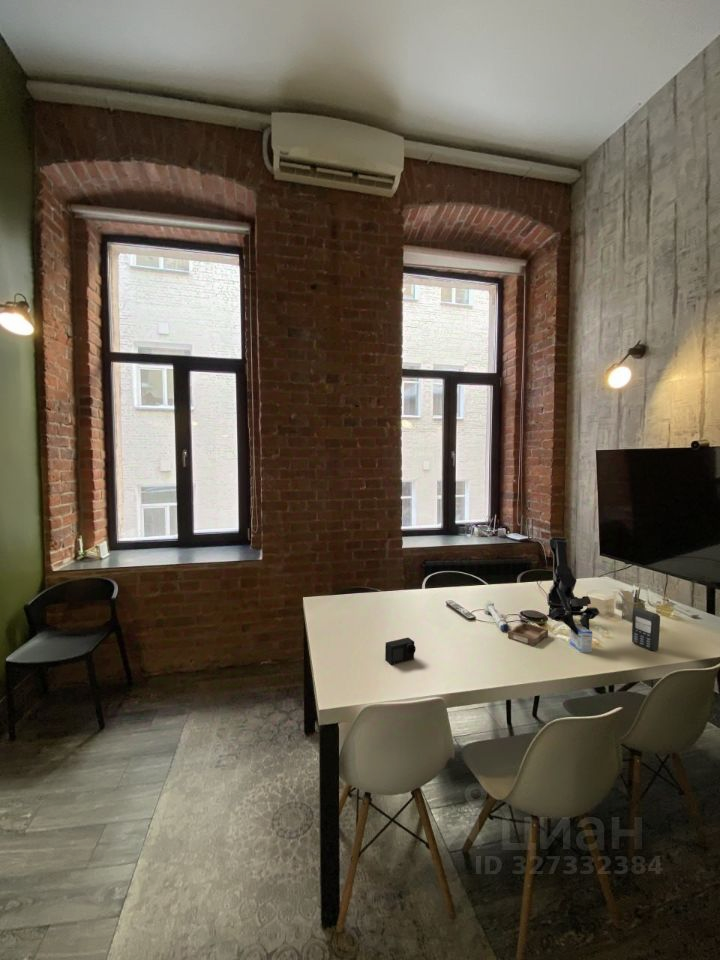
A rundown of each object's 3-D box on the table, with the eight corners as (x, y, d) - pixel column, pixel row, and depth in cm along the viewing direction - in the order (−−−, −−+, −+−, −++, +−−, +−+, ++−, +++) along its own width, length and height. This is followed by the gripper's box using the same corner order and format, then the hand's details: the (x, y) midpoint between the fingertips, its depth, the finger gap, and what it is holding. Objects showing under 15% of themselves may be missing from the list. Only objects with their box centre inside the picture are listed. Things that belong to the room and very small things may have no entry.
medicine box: (569, 644, 168) (570, 623, 168) (579, 643, 168) (580, 623, 168) (581, 652, 160) (582, 631, 160) (591, 652, 160) (592, 631, 160)
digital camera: (392, 667, 147) (393, 648, 146) (384, 660, 151) (385, 642, 151) (416, 660, 152) (416, 642, 151) (407, 654, 156) (408, 637, 156)
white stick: (499, 623, 179) (482, 597, 204) (498, 637, 180) (481, 609, 205) (511, 624, 179) (493, 597, 204) (510, 637, 180) (492, 609, 205)
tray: (523, 628, 183) (523, 622, 183) (547, 636, 175) (548, 629, 175) (507, 638, 173) (507, 631, 172) (533, 646, 165) (533, 639, 165)
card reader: (629, 643, 170) (631, 608, 169) (636, 641, 172) (637, 606, 171) (653, 652, 162) (654, 615, 161) (659, 650, 163) (661, 614, 163)
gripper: (555, 589, 166) (570, 626, 156) (597, 588, 168) (615, 625, 158) (544, 601, 174) (558, 637, 164) (584, 600, 176) (600, 636, 166)
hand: (583, 633), depth 163 cm, fingers closed on medicine box, 4 cm apart
